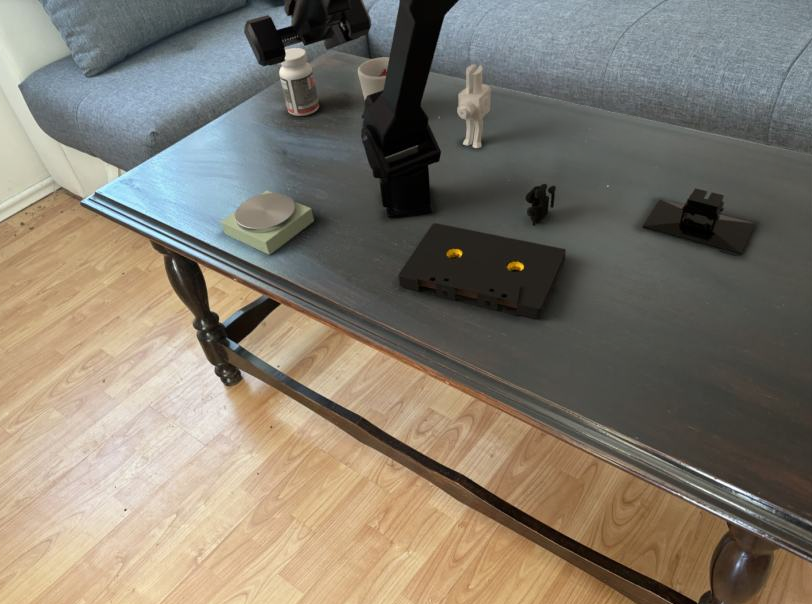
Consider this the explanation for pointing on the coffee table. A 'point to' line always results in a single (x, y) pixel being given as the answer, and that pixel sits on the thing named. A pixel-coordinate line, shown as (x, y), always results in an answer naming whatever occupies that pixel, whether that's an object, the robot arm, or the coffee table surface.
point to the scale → (267, 221)
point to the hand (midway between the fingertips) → (300, 54)
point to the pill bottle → (298, 83)
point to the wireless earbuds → (539, 202)
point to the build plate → (700, 223)
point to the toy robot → (474, 105)
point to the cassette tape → (484, 270)
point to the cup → (373, 75)
